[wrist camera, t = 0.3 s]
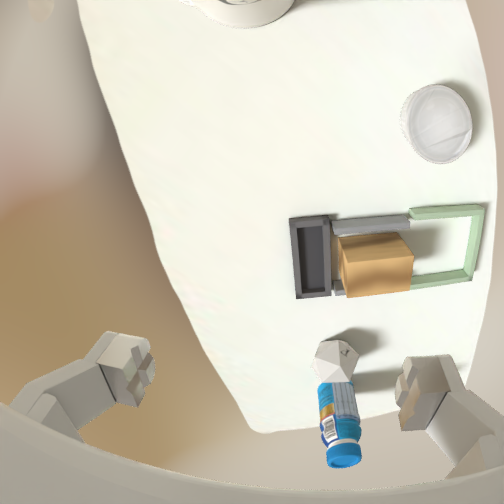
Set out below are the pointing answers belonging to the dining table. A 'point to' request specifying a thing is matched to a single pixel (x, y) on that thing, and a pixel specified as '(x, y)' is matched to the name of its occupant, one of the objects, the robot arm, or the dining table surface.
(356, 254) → the oak brick
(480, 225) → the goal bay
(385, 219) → the tunnel rails
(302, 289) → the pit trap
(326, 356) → the die
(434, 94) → the ramekin
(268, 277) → the dining table surface
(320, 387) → the beverage bottle
